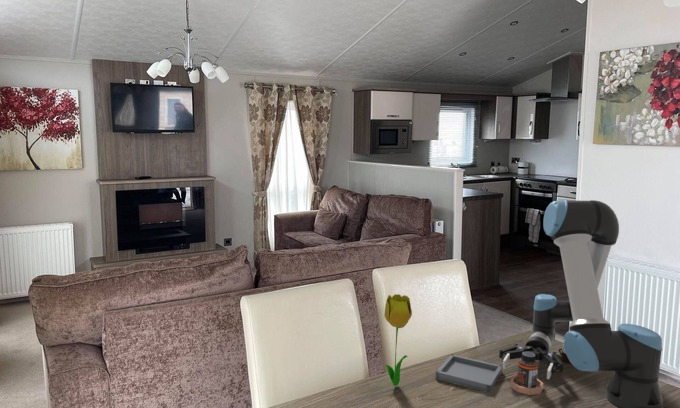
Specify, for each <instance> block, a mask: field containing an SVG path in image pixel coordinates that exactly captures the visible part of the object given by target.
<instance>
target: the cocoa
mask: <svg viewBox="0 0 680 408" xmlns="http://www.w3.org/2000/svg"><path fill="white" fill-rule="evenodd" d="M558 352H559V354H560V355H561V357H562V359H563V360H564V362H565V363H568V364H571V362H570V361H569V359H568V357H567V355H566V352H565V348H564V345H563V346H562V348H559V349H558Z"/></svg>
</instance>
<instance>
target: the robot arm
mask: <svg viewBox="0 0 680 408" xmlns="http://www.w3.org/2000/svg"><path fill="white" fill-rule="evenodd" d="M542 225H543V231H544V233H545V235H547V236H549V237H552V240H553V244H554V245H556V246H557V247H559V251H560V256H561V262H562V267H563V274H564V278H565V284H566V288H567V295H568V300H557V297H556V296H554V295H552V294H545V293H539V294H537V295H535V298H534V303H533V318H532V319H533V320H532V321H533V322H532V330H531V331H532V332H531V334H530V336H529V338H528V339H527V342H526V343H525V344H524V346H522V347H521V346H519V344H518V343H514V344H513V345H511V346H509V347H504V348H502V349H499V354H498V357H499V359H501V362H502V366H503V367H502V368H503V370H504V369H506V368H507V366H508V364H509V363H510V360H515V359H520V358H522V353H523V352H532V353H534V354H535V360H536V361H539V362H540V363H541V364H544V365H546V367H548V368H547V370H546V371H547V372H546V379H547V380H550V379H551V376H552V374H553V375H555V374H556V372H558V371H559V372H560V373H563V372H564V367H565V366H564V365H565V364H564V362H562V360H561V359H560V358H559V356H558V355H557V352H556V351H552V352H551V353H550V352H549V351H550V349H551V347H552V346H553V343H554V341H555V340H556V331H555V328H556V323H558V322H559V323H561V322H562V323H563V322H571V323H570V324H569V326H568V329H569V330H568V331H567V332H566V333H565V334H564V338H563V339H564V340H563V346H564V348H565V352H566V355H567V357H568V359H569V361H570V362H571V363H570V364H571V365H572V366H573V367H574V368H575V369H577V370H579V371H581V372H591V373H596V372H613V375H612V377H611V379H610V380H609V383H608V384H607V386H606V389H605V390H606V392H605V397H606V399H607V400H608V401H609V402H610V404H611V403H612V405H614V406H616V407H618V408H664V398H663V394H662V392H661V388H660V385H659V377H660V367H661V359H662V358H661V357H662V351H663V339H662V337H661V335H660V334H659V333H658V332H656V331H654V330H652V329H650V328H648V327H644V326H641V325H637V324H633V323H620V324H619V325H618V327H617V330H612V327H611V323H610V322H609V321H607V319H605V318H604V314H603V309H602V306H601V305H602V304H601V300H600V294H599V289H598V288H599V285H600V282H601V280H602V276H603V273H604V269H605V266H606V263H607V260H608V258H609V254H610V252H611V249H612V246H614V245H616V243H617V240H618V238H619V235H620V234H619V233H620V224H619V220H618V216H617V214H616V213H615V211H614V210H613V208H611V206H610V205H608V204H606V203H605V202H603V201H599V200H594V199H593V200H567V199H563V200H554V201H552V202H550V203H549V204H548V206H547V207H546V209H545V213H544V215H543V224H542Z"/></svg>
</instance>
